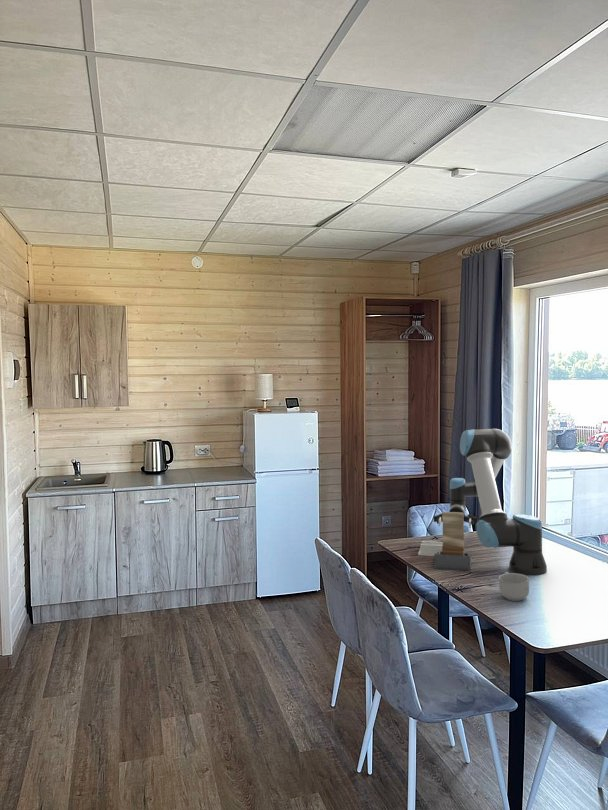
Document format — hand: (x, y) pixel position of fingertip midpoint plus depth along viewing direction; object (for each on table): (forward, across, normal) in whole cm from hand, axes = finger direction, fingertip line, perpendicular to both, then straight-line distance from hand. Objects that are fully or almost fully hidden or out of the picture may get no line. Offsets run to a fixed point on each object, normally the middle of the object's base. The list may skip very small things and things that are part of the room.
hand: (454, 524), depth 277 cm
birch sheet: (+10, 0, -14) cm, 17 cm away
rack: (+14, 0, -16) cm, 21 cm away
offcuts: (+16, 0, -14) cm, 22 cm away
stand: (-2, +10, -16) cm, 19 cm away
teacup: (+44, -24, -16) cm, 53 cm away
